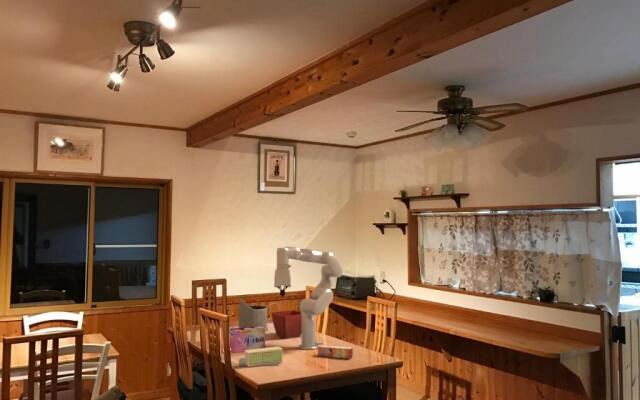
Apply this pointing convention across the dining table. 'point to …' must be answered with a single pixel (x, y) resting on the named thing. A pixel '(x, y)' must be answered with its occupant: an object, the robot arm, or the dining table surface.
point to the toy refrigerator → (263, 356)
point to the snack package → (335, 351)
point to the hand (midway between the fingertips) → (282, 296)
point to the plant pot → (287, 323)
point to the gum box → (247, 338)
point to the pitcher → (253, 315)
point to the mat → (242, 364)
